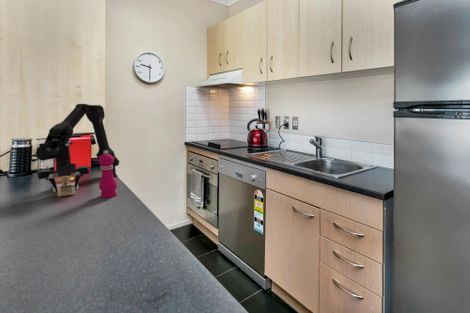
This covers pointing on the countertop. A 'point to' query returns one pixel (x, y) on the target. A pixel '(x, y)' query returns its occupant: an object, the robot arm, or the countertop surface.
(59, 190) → the collar
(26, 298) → the countertop surface
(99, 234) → the countertop surface
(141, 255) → the countertop surface
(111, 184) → the pepper mill
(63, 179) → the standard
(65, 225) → the countertop surface
